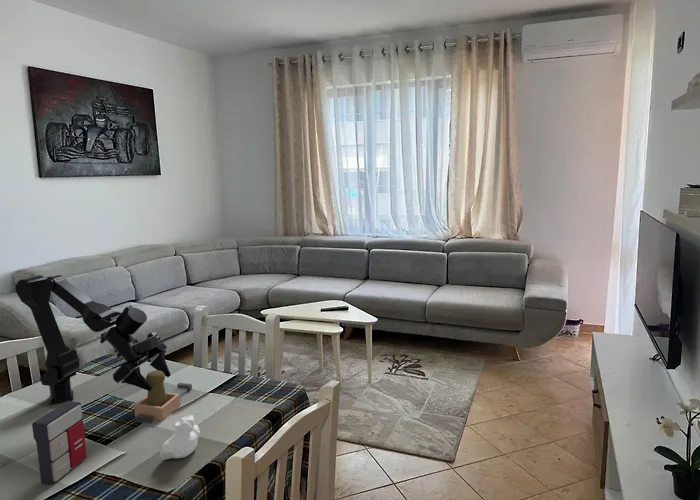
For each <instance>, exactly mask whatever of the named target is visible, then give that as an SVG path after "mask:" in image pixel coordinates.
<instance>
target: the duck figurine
mask: <svg viewBox="0 0 700 500" xmlns="http://www.w3.org/2000/svg"><path fill="white" fill-rule="evenodd" d="M173 427H174V428H175V429H176V431H175V432H174V433H173V435H172V436H171V437H170V438H168V439H167V440H166V441H164V443H163V444H162V447H161V449H160V451H159V452H160V453H159V456H160V458H161V459H162V460H164V461H165V460H170V459H183V458H186V457H189V455H191V454H192V453H193V452H194V451H195V449H196V447H197V446H198V443H199V442H198V440H199V437H200V435H201V430H200V427H199V425H197V424H195V418H194V415H193V414H189V415H185V416H182V417H180V420H179V421H175V422H174V423H173Z"/></svg>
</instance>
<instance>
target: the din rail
mask: <svg viewBox="0 0 700 500" xmlns="http://www.w3.org/2000/svg"><path fill="white" fill-rule="evenodd" d="M176 386H177V388H175V389H174V390H173V391H172V392H171V393H176V394H180V399H181V398H182V397H183V396H184V395H185V394H186V392H187V393H188V392H190V391H189V390H191V389H192V390H193V384H192V383H184V382H178V383H177V385H176ZM192 390H191V391H192ZM135 419H136V423H141V424H148V425H151V424H152V423H153V422H154V420H155V419H154V416H150V415H142V414H138V415H137V416H136V417H135Z"/></svg>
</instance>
